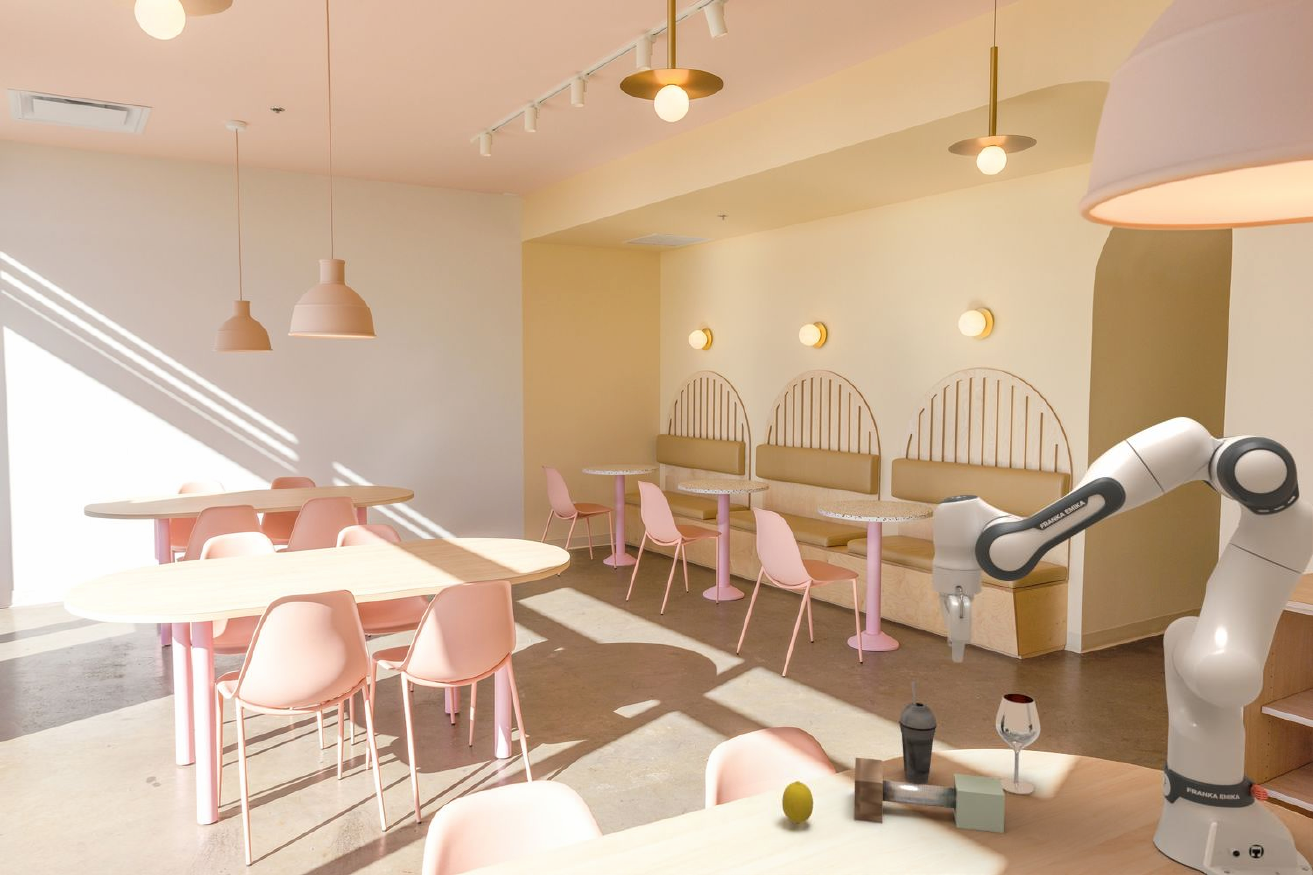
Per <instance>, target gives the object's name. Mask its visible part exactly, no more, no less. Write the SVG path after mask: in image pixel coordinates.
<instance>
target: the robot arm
mask: <svg viewBox="0 0 1313 875" xmlns="http://www.w3.org/2000/svg"><path fill="white" fill-rule="evenodd" d="M1297 470H1298V469H1297V463H1296V462H1295V459H1294V457H1293V455H1292V453H1291V452H1290V451H1289V450H1288V448H1287V447H1285V446H1284V445H1282V444H1281V443H1279V442H1277V441H1276V440H1274V439H1271V438H1267V437H1264V436H1263V437H1262V436H1258V435H1254V434H1251V435H1249V434H1244V435H1238V436H1236V435H1235V436H1224V437H1223V436H1222V437H1221V436H1219V437H1215V436H1212V434H1210V432H1209V430H1207V428H1206V427H1204V425H1202V424H1201V423H1199V422H1198V421H1196V420H1194V419H1192V418H1190V417H1186V416H1185V417H1183V416H1179V417H1174V418H1171V419H1168V420H1166V421H1163V422H1160V423H1157V424H1155V425H1153V426H1151V427H1148V428H1146V429H1144V430H1142V431H1140V432H1138V433H1137V432H1136V433H1135V434H1133V435H1132V436H1130V437H1128V438H1126V439H1124V440H1122V441H1121V442H1119V443H1117V444H1115V445H1114V446H1112V447H1111V448H1110V449H1108V450H1107V451H1105V452H1104V453H1103V454H1101V455H1100V456H1099V457H1098V458H1097V459H1096V460H1094V461H1093V462H1092V463H1091V464H1090V466H1089V467H1088V469H1087V471H1086V472H1085V474H1084V476H1083V478H1082V479H1081V480H1080V482H1079V483H1078V484H1077V485H1076V486H1075V487H1074V489H1072V490H1071V491H1070V492H1069V493H1067V494H1066V495H1064V496H1063V497H1061V498H1059V499H1058V500H1056V501H1055V502H1052V503H1051V504H1049V505H1047V506H1046V507H1044V508H1042V509H1041V510H1039V511H1037V512H1036V513H1034V514H1032V515H1030V516H1028V517H1027V518H1022V517H1021V516H1019V515H1016V514H1013V513H1009V512H1006V511H1004V510H1001V509H998V508H996V507H994V506H992V505H990V504H989V503H987V502H985V500H983V499H982V498H981V497H980V496H978V495H975V494H960V495H953V496H949V497H946V498H945V499H942V500H941V501H940V502H939V503H938V504H937V506H936V508H935V512H934V518H933V519H934V520H933V530H932V531H933V533H932V534H933V535H932V543H933V546H934V556H933V559H932V564H931V565H932V568H931V569H932V571H931V572H932V573H931V575H932V576H931V577H932V578H931V589H932V590H933V591H935V592H938V598H939V600H940V602H939V603H940V610H941V616H942V618H943V622H944V625H945V629H946V632H947V645H948V646H949V647H950V648H951V649H952V650H951V651H952V652H951V659H952V661H953V663H962V662H963V661H964V653H965V651H964V650H965V647H966V646H965V645H966V644H971V641H972V627H973V626H972V624H973V623H972V621H973V620H972V619H973V618H972V616H973V615H972V602H974V601H975V595H979V594H981V593H982V591H983V590H982V586H983V585H982V583H983V582H982V581H983V578H982V577H983V572H984V573H986V575H988V576H989V577H991V578H993V579H995V580H998V581H1003V582H1015V581H1019V580H1021V579H1023V578H1025V577H1027V576H1028V575H1030V574H1031V572H1032V571H1033V570H1034V569H1035V568H1036V566H1037V565H1038V564H1039V562H1040V561H1041V559H1042V558H1043V557H1044V556H1045V555H1046V554H1047V553H1048V552H1049V551H1051V550H1052V549H1054V548H1055V547H1057V546H1058V545H1060V544H1062V543H1064V542H1066V541H1067V540H1069V539H1071V538H1072V537H1074V536H1076V535H1077V534H1080V532H1083V531H1084V530H1087V529H1089V527H1092V526H1093V525H1095V524H1096V523H1099V522H1101V521H1103V520H1106V519H1108V518H1112V517H1114V516H1117V515H1119V514H1121V513H1124V512H1127V511H1130V510H1133V509H1135V508H1137V507H1140V506H1142V505H1145V504H1147V503H1149V502H1152V501H1153V500H1156V499H1158V498H1160V497H1161V496H1163V495H1165V494H1167V493H1168V492H1171V491H1172V490H1174V489H1176V488H1178V487H1180V486H1181V485H1184V484H1187V483H1189V482H1193V481H1202V482H1203V483H1205V484H1206V485H1207V486H1209V487H1210V488H1212V490H1214V491H1216V492H1217V493H1219V494H1220V495H1222V496H1223V497H1225V498H1227V499H1230V500H1232V501H1235V502H1237V504H1238V505H1239V508H1240V517H1239V518H1240V519H1239V521H1238V523H1237V524H1238V525H1237V528H1236V529H1235V530H1234V532H1233V534H1232V536H1231V537H1230V539H1229V541H1228V543H1227V545H1226V546H1225V547H1224V549H1223V550H1224V551H1222V553H1221V556H1220V558H1219V559H1218V561H1217V563H1216V564H1215V565H1216V566H1215V567H1214V568H1213V571H1212V573H1211V574H1210V576H1209V578H1208V580H1207V582H1206V587H1205V593H1204V594H1205V595H1204V599H1203V603H1202V607H1201V610H1200V613H1199V616H1193V615H1191V616H1190V615H1189V616H1184V617H1183V616H1182V617H1180V618H1178V619H1176V620H1174V621H1173V622H1171V623H1170V624H1169V625H1168V627H1167V628H1166V629H1165V632H1164V634H1163V652H1164V673H1165V674H1164V675H1165V677H1164V679H1165V690H1166V701H1167V710H1168V733H1167V734H1168V735H1167V736H1168V737H1167V759H1166V761H1165V762H1164V766H1163V774H1162V793H1163V797H1164V798H1163V805H1162V809H1161V814H1160V818H1159V822H1158V826H1157V828H1156V829H1155V833H1154V836H1153V839H1152V840H1153V843H1154V845H1155V847H1156V848H1157V849H1158V850H1160V852H1162V853H1163V854H1164V855H1166V856H1167V857H1169V859H1170V858H1171V859H1172V860H1175V861H1176V862H1179V863H1180V864H1183V865H1186V866H1187V867H1190V868H1193V869H1196V870H1198V871H1199V872H1200V871H1201V872H1203V873H1204V874H1206V875H1313V868H1312V866H1311V864H1310V863H1309V862H1308V860H1307V859H1306V858H1305V856H1304V855H1303V854H1302V853H1301V852H1299V851H1298V849H1296V843H1295V839H1294V837H1293V834H1292V833H1291V831H1290V829H1289V828H1288V826H1287V825H1286V824H1285V823H1284V822H1283V821H1282V820H1281V819H1280V817H1278V816H1277V815H1276V814H1275V813H1274V812H1272V811H1271V810H1270V809H1268V808H1267V807H1266V806H1265V805H1263V804H1262V803H1261V802H1266V801H1267V799H1268V797H1269V793H1268V791H1267V790H1266V789H1264V787H1262V786H1261V785H1259V784H1256V782H1255V781H1254V779H1252V778H1251V777H1249V776H1248V775H1246V774H1245V773H1244V772H1245V755H1246V754H1245V753H1246V751H1245V750H1246V729H1245V725H1244V721H1243V716H1242V709H1241V708H1243V707H1246V706H1248V705H1250V704H1251V703H1253V702H1254V701H1255V700H1257V698H1259V696H1260V694H1261V692H1262V689H1263V686H1264V668H1265V665H1266V662H1267V658H1268V656H1269V652H1270V650H1271V647H1272V646H1271V645H1272V643H1273V639H1274V635H1275V632H1276V628H1277V626H1278V623H1279V620H1280V618H1281V616H1282V613H1283V612H1284V609H1285V607H1286V605H1287V604H1288V602H1289V600H1290V599H1291V596H1292V595H1293V592H1294V591H1295V589H1296V588H1297V586H1298V583H1299V582H1300V581H1301V579H1302V577H1303V575H1304V573H1305V571H1306V569H1307V567H1308V565H1309V563H1310V562H1311V559H1312V558H1313V503H1311V502H1310V501H1308V500H1307V499H1305V498H1303V497H1301V496H1300V489H1299V481H1298V471H1297Z"/></svg>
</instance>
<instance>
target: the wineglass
mask: <svg viewBox="0 0 1313 875" xmlns="http://www.w3.org/2000/svg"><path fill="white" fill-rule="evenodd" d="M995 728H996V731H997V733H998V734H999V736H1000V737H1001V739H1003V741H1004V742H1006V743H1007V744H1008V745H1009V746H1010V747H1011V748H1012V750H1013V752H1014V769H1013V770H1014V772H1013V778H1003V779H1002V780H1001V779H1000V783H1001V786H1002V789H1003V791H1005V792H1007V793H1011V794H1013V795H1028V794H1029V795H1030V794H1032V793H1033V792H1034V790H1035V789H1034V786H1033V785H1032V784H1031V783H1030V782H1027V781H1026V780H1025V781H1024V780H1023V779H1019V778H1020V776H1019V770H1020V769H1019V768H1020V753H1021V751H1022V750H1023V749H1025V748H1026V747H1027V746H1030V745H1031V744H1032V743H1034V742H1035V741H1036V740H1037V739H1038V737H1039V736H1040V734H1041V723H1040V718H1039V713H1038V709H1037V706H1036V702H1035V699H1034V698H1033V697H1031V696H1030V695H1026V694H1023V693H1017V692H1011V693H1005V694H1003V695H1002V698H1001V701H1000V704H999V707H998V711H997V713H996V717H995Z"/></svg>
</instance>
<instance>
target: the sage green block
mask: <svg viewBox="0 0 1313 875" xmlns="http://www.w3.org/2000/svg"><path fill="white" fill-rule="evenodd" d="M1000 781H1001V779H1000V778H999V777H989V776H981V775H971V774H962V773H953V787H952V788H956V793H957V797H956V809H952V811H953V817H954V823H955V826H956V827H955V828H957V829H965V830H974V831H982V832H991V833H1000V834H1004V833H1005V830H1004V829H1005V800H1006V798H1005V797H1006V796H1005V792H1004V790H1003V789H1002V786H1001V783H1000Z"/></svg>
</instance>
